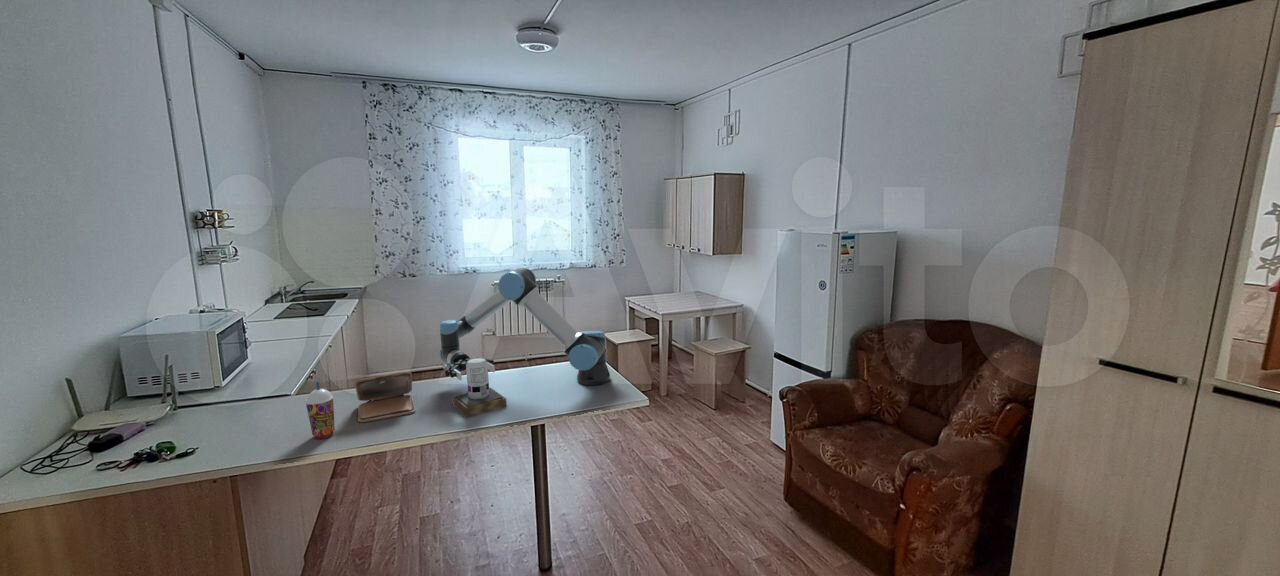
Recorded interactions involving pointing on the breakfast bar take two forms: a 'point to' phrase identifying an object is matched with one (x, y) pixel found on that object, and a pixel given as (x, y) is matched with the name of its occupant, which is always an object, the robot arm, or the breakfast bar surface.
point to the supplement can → (477, 378)
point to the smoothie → (321, 412)
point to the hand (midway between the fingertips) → (477, 372)
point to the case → (385, 396)
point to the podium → (479, 403)
